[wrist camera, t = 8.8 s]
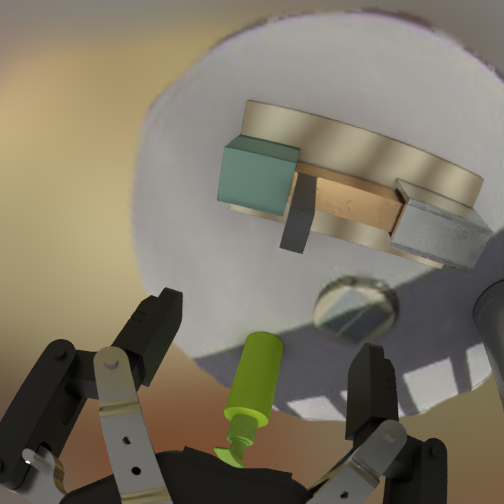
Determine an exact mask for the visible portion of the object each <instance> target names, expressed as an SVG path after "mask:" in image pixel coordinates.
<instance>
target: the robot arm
mask: <svg viewBox="0 0 504 504" xmlns="http://www.w3.org/2000/svg"><path fill="white" fill-rule="evenodd" d="M182 304H183V294H182V292H179V291H176V290H173V289H170V288H167V287H166V288H164V289H163V291H162V292H161V294H160V295H159V297H155V296H152V295H151V296H149V297H148V298H146V299H144V300H143V301H141V303H140V304H139V306H138V307H137V309H136V310H135V312H134V313H133V314H132V316H131V318H130V319H129V320H128V322H127V323H126V325H125V326H124V327H123V329H122V330H121V332H120V333H119V335H118V336H117V338H116V339H115V341H114V342H113V344H112V345H111V346H110V347H105V348H102V349H101V350H99V351H98V352H89V351H83V350H76V349H75V347H74V345H73V344H72V343H71V342H69V341H68V340H64V339H58V340H55V341H53V342H51V343H50V344H49V345H48V346H47V347H46V349H45V350H44V352H43V353H42V355H41V356H40V358H39V359H38V361H37V362H36V364H35V365H34V367H33V368H32V370H31V371H30V373H29V374H28V376H27V378H26V379H25V381H24V382H23V384H22V386H21V387H20V389H19V391H18V392H17V394H16V396H15V397H14V399H13V401H12V402H11V404H10V406H9V408H8V409H7V411H6V413H5V415H4V417H3V418H2V420H1V422H0V485H1V486H3V487H4V488H5V489H7V490H10V491H12V492H14V493H16V494H19V495H21V496H22V497H23V498H25V499H26V500H28V501H29V502H31V503H32V504H362V503H363V502H364V501H365V500H366V499H367V498H368V497H369V496H370V494H371V493H372V492H373V491H374V490H375V489H376V487H377V486H378V484H379V482H380V481H379V478H380V476H381V475H383V476H386V479H385V489H384V497H383V504H447V449H446V447H445V445H444V443H443V442H442V441H441V440H439V439H437V438H430V439H428V440H427V441H425V442H423V441H420V440H418V439H416V438H413V437H411V436H409V435H408V434H407V432H406V429H405V428H404V427H403V425H402V424H401V423H400V422H399V417H398V401H397V390H396V382H395V380H396V377H395V369H394V367H393V365H392V363H391V361H390V360H389V359H384V349H383V346H381V345H376V344H371V343H365V344H364V345H363V347H362V348H361V350H360V351H359V353H358V354H357V356H356V357H355V359H354V360H353V361H352V363H351V365H350V368H349V372H348V393H347V416H346V434H345V440H352V441H353V447H352V448H351V449H350V450H349V451H348V452H347V453H346V454H345V455H344V456H343V457H342V458H341V459H340V460H339V461H338V462H337V463H336V464H335V465H334V466H333V467H332V468H331V469H330V470H329V471H327V473H325V474H324V475H323V476H322V477H321V478H319V479H318V480H317V481H316V482H314V483H313V484H312V485H311V486H309V487H308V488H307V489H306V488H305V487H304V486H303V485H301V484H300V483H298V482H297V481H295V480H293V479H291V477H292V473H288V472H283V471H277V470H272V469H267V468H258V469H257V468H254V469H253V468H252V469H251V468H249V469H248V468H236V467H233V466H232V465H230V464H228V463H226V462H224V461H222V460H220V459H219V458H217V457H215V456H213V455H211V454H208V453H205V452H201V451H198V450H195V449H193V448H189V447H187V446H185V448H184V450H183V451H179V450H173V451H164V452H159V453H156V454H155V451H154V448H153V445H152V442H151V439H150V436H149V433H148V430H147V427H146V423H145V420H144V417H143V413H142V409H141V406H140V403H139V398H138V395H137V391H138V389H139V388H140V385H141V384H142V385H145V386H147V387H149V385H150V383H151V381H152V379H153V377H154V375H155V374H156V371H157V370H158V368H159V366H160V364H161V362H162V360H163V358H164V356H165V354H166V352H167V350H168V348H169V347H170V345H171V343H172V341H173V339H174V337H175V335H176V333H177V331H178V329H179V327H180V324H181V321H182ZM473 316H474V320H475V323H476V325H477V328H478V331H479V333H480V336H481V339H482V342H483V345H484V347H485V350H486V353H487V356H488V359H489V362H490V365H491V368H492V371H493V375H494V378H495V381H496V385H497V388H498V392H499V395H500V399H501V403H502V407H503V411H504V280H503V281H500V282H498V283H496V284H494V285H493V286H491V287H490V288H489V289H488V290H487V291H485V292H484V293H483V295H482V296H481V297H480V298H479V300H478V302H477V303H476V306H475V308H474V313H473ZM87 398H92V399H98V400H99V402H100V409H99V414H100V420H101V425H102V430H103V434H104V438H105V443H106V447H107V450H108V455H109V459H110V462H111V466H112V469H113V473H114V474H112V475H109V476H107V477H105V478H103V479H100V480H98V481H96V482H93V483H91V484H88V485H86V486H84V487H82V488H78V489H76V490H74V491H71V492H69V493H68V494H67V492H66V491H65V489H64V484H63V479H64V475H65V470H64V466H63V464H62V462H61V461H60V460H59V459H58V458H59V456H60V454H61V452H62V450H63V447H64V445H65V443H66V441H67V439H68V437H69V435H70V433H71V431H72V429H73V426H74V424H75V422H76V420H77V418H78V416H79V414H80V412H81V410H82V408H83V406H84V404H85V402H86V400H87Z"/></svg>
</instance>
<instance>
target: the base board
mask: <svg viewBox="0 0 504 504" xmlns="http://www.w3.org/2000/svg"><path fill="white" fill-rule="evenodd" d="M241 134H242V135H246V136H251V137H256V138H261V139H265V140H269V141H274V142H278V143H282V144H286V145H290V146H294V147H298V148H301V149H300V153H299V157H298V161H297V162H301V163H305V164H308V165H312V166H316V167H319V168H323V169H326V170H330V171H333V172H337V173H340V174H344V175H347V176H350V177H354V178H357V179H360V180H363V181H366V182H369V183H373V184H376V185H379V186H382V187H385V188H388V189H391V190H392V188H393V185H394V182H395V180H396V177H397V178H400V179H403V180H405V181H408V182H411V183H413V184H416V185H419V186H421V187H424V188H427V189H429V190H432V191H434V192H437V193H439V194H442V195H444V196H446V197H449V198H451V199H454V200H456V201H458V202H461V203H463V204H465V205H467V206H470V207H473V205H474V202H475V200H476V198H477V196H478V193H479V191H480V188H481V186H482V184H483V181H484V179H483V178H481V177H480V176H478V175H476V174H474V173H472V172H470V171H468V170H466V169H464V168H462V167H460V166H458V165H455V164H453V163H451V162H449V161H447V160H444V159H442V158H440V157H437V156H435V155H433V154H430V153H428V152H426V151H423V150H421V149H418V148H416V147H413V146H411V145H408V144H405V143H403V142H400V141H397V140H395V139H392V138H389V137H386V136H384V135H381V134H378V133H375V132H372V131H369V130H366V129H363V128H360V127H356V126H353V125H350V124H347V123H343V122H340V121H337V120H333V119H330V118H326V117H322V116H319V115H315V114H311V113H307V112H303V111H299V110H295V109H290V108H286V107H282V106H277V105H272V104H267V103H262V102H257V101H252V100H247V102H246V107H245V113H244V119H243V124H242V130H241ZM290 205H291V203H288V202H287V204H286V208H285V211H284V215H283V217H281V216H277V215H274V214H270V213H266V212H262V211H258V210H254V209H250V208H246V207H242V206H238V205H234V204H229V209H230V210H234V211H238V212H242V213H246V214H250V215H254V216H258V217H262V218H266V219H269V220H273V221H277V222H281V223H285V224H286V220H287V217H288V213H289V209H290ZM310 230H311V231H314V232H318V233H322V234H325V235H329V236H332V237H336V238H339V239H343V240H346V241H350V242H353V243H357V244H360V245H364V246H367V247H371V248H374V249H377V250H381V251H384V252H387V253H391V254H394V255H397V256H401V257H404V258H407V259H411V260H414V261H417V262H420V263H423V264H427V265H430V266H433V267H436V268H439V269H441V268H442V267H443V265H444V264H441V263H438V262H435V261H432V260H429V259H426V258H423V257H419V256H416V255H413V254H410V253H407V252H403V251H400V250H397V249H394V248H390V247H389V246H388V243H387V239H386V236H385V233H384V230H382V229H379V228H375V227H372V226H369V225H366V224H362V223H359V222H356V221H352V220H349V219H345V218H342V217H338V216H335V215H332V214H328V213H324V212H321V211H317V210H315V216H314V219H313V222H312V226H311V229H310Z"/></svg>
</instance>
